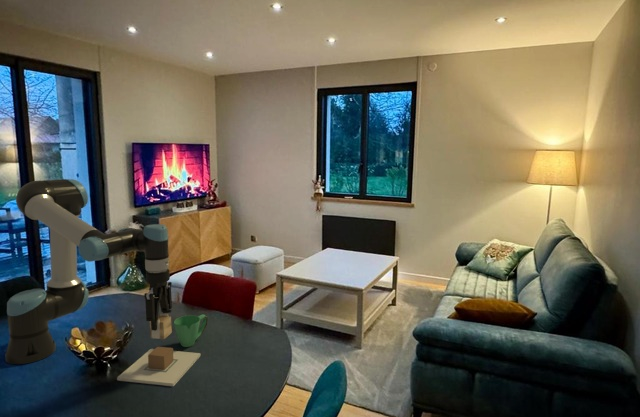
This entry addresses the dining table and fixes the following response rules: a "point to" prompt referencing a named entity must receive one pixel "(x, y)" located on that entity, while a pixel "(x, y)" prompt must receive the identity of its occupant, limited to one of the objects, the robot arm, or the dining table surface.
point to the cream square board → (160, 367)
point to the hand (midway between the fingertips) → (160, 334)
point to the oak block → (164, 326)
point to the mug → (189, 328)
